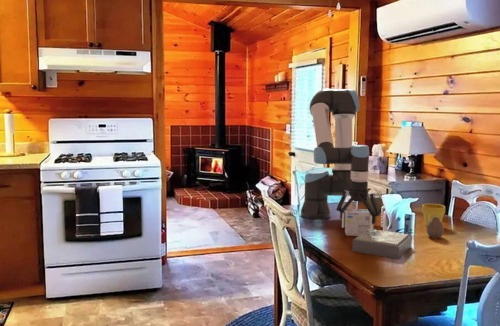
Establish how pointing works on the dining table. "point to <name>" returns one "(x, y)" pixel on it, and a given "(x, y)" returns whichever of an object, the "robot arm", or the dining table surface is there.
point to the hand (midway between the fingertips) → (357, 228)
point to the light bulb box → (356, 221)
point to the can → (378, 200)
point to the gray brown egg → (435, 228)
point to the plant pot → (432, 212)
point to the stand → (382, 243)
